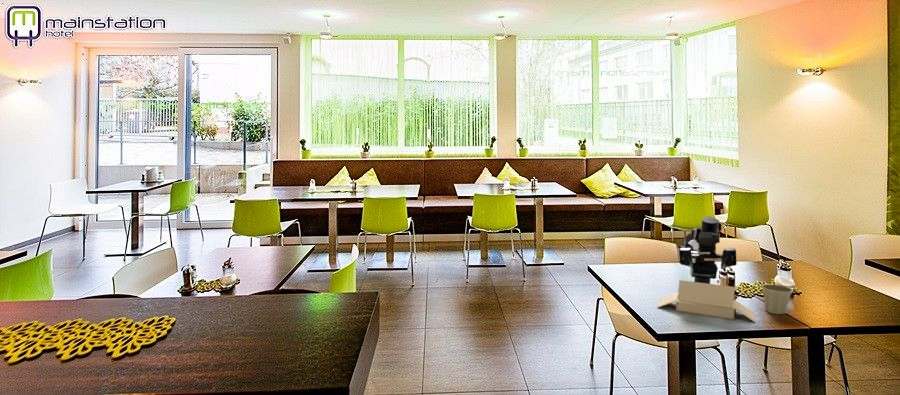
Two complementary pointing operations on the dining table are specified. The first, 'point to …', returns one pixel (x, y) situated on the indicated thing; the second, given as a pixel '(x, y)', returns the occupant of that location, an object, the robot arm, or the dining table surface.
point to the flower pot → (776, 298)
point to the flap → (706, 293)
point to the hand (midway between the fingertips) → (707, 267)
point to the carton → (707, 308)
